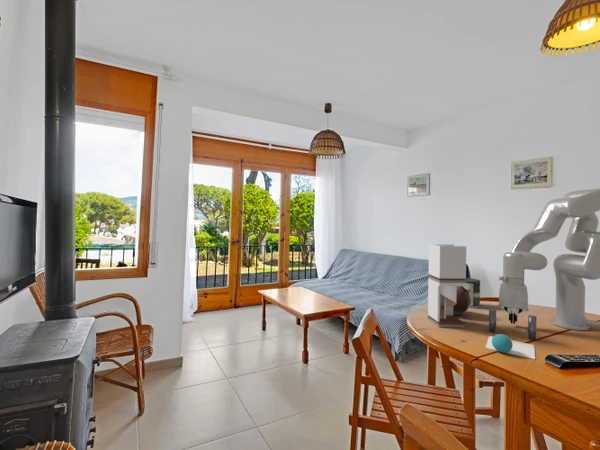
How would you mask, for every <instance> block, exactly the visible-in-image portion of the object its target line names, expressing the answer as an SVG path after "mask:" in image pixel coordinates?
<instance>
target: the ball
mask: <svg viewBox="0 0 600 450" xmlns="http://www.w3.org/2000/svg"><path fill="white" fill-rule="evenodd" d="M511 340H512V339H511V337H509V336H507V335H506V334H503V333H498V334H495V335H494V336H493V338H492V345H493V347H494V348H495V349H496V350H498V351H497V352H500V353H505V352H509V351H510V350H511V349H512V346H513V344H512V341H513V340H512V341H511ZM496 350H495V351H496Z"/></svg>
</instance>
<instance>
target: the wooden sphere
mask: <svg viewBox="0 0 600 450" xmlns="http://www.w3.org/2000/svg"><path fill="white" fill-rule="evenodd" d="M456 287H457V295H456V305H453V316H454V315H456V316H457V315H462V314H464V313H465V312H467V310H469V309H470V308H469V307H470V304H471V298H470V295H469V293H468V291H467V290H466V289H465V288H464V287H462V286H456Z"/></svg>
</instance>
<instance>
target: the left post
mask: <svg viewBox="0 0 600 450" xmlns="http://www.w3.org/2000/svg"><path fill="white" fill-rule="evenodd" d="M488 332H490V333H497V310H496V309H494V308H489V309H488Z"/></svg>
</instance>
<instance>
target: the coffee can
mask: <svg viewBox="0 0 600 450" xmlns="http://www.w3.org/2000/svg"><path fill="white" fill-rule="evenodd" d="M462 287H464V288H465V289H466V290H467V291H468V293H469V295H470V298H471V304H470V307H469V308H468V309H479V308H481V280H480V279H477V278H471V277H470V278H468V277H466V286H462Z"/></svg>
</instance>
